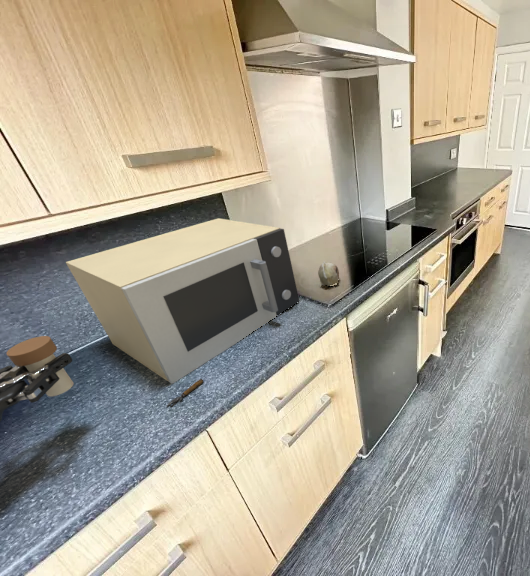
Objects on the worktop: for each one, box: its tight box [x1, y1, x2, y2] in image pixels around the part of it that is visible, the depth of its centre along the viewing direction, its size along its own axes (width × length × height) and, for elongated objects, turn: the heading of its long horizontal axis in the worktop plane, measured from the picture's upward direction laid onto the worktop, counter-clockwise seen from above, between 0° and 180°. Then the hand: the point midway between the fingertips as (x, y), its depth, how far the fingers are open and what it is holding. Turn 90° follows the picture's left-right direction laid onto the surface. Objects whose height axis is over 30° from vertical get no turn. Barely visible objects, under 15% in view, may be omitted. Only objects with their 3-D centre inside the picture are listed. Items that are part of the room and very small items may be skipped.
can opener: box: [166, 378, 204, 408], centre depth 75 cm, size 9×2×1 cm, turn 149°
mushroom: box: [6, 335, 75, 398], centre depth 60 cm, size 6×6×11 cm
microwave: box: [65, 217, 300, 383], centre depth 97 cm, size 35×44×27 cm
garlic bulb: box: [317, 261, 340, 287], centre depth 120 cm, size 9×8×10 cm
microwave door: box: [121, 239, 278, 385], centre depth 84 cm, size 7×34×27 cm, turn 148°
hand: (58, 356), depth 63 cm, fingers closed on mushroom, 4 cm apart
